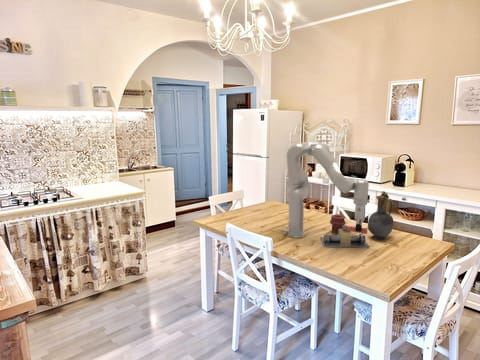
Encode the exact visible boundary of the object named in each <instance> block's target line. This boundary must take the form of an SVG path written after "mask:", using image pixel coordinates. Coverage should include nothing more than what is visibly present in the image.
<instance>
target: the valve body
mask: <svg viewBox="0 0 480 360" xmlns="http://www.w3.org/2000/svg"><path fill="white" fill-rule="evenodd" d="M320 240H321V242H322V245H323V247H324V248H334V249H335V248H340V249H342V248H343V249H345V248H347V249H349V248H350V249H370V247H371V246H370V245H369V244H368V243H367V242H366V240H367V239H366V235H364V234H362V233H359V234H358V235H354V234H353V235H352V232H351V231H343V230H342V229H339V231H338V234H330V233H329V232H326V233H325V234H323V236H320Z"/></svg>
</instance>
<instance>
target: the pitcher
mask: <svg viewBox="0 0 480 360" xmlns="http://www.w3.org/2000/svg"><path fill="white" fill-rule="evenodd" d="M375 198H376V200H377V205H376V206H377V211H374V212H373V213H372V214H371V215H370V216H369V218H368V220H367V231H368V232H370V233H371V234H372V235H373V236H372V237H373V239H375V240H378V241H384V240H386V238H387V237H388V236H389V235H390V234H391V233H392V231H393V228H394V218H393V216H392V215H391V213H392V210H393V208H394V207H393V205H394V202H393V200H392V198H390V196H389V195H388V193H387V192H386V191H385V190H384V191H381V193H380V195H376V196H375ZM388 202H390V207H389V212H387V207H388Z"/></svg>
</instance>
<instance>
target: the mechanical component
mask: <svg viewBox="0 0 480 360" xmlns="http://www.w3.org/2000/svg"><path fill="white" fill-rule="evenodd" d="M345 218H346V217H345V215H341V214H338V213H336V214H332V215H331V218H330V220H329V224H331V231H332V233H334V234H335V235H338V231H339V229H342V226H343V225H346V223H347V222H346V220H345Z"/></svg>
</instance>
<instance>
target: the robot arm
mask: <svg viewBox="0 0 480 360" xmlns="http://www.w3.org/2000/svg"><path fill="white" fill-rule="evenodd" d="M304 156H310V157H313V158H314V159H315V160H316V161H317V162H318V164H320V166H321V167H322V168H323V169H324V170H325V171H326V174H327V175H328V177H329V179H330V181H331V182H332V184H333V185H334V186H335V187H336V188H337V189H338V190H339V192H341V193H344V194H348V193H350V192H352V191H353V201H352V202H353V204H354V205H355V206H354V221H355V222H356V223H355V227H356V229H355V231H356V232H355V233H357V232H361V230H362V228H363V227H362V226H363V224H362V223H364V221H365V219H366V205H368V202H369V201H368V200H369V199H368V198H369V186H370V184H369V181H368V180H367V179H361V178H360V179H357V178H354V177H345V176H344V175H343V173H342V172H341V170H340V167H339V162H338V160H336V158H335V157H334V156H333V155H332V153H331V152H330V147H329V145H327V144H326V143H320V142H319V143H318V142H311V141H310V142H309V141H304V142H303V141H302V142H297V143H295V144H293V145H292V146H290V147H289V148H288V149H287V152H286V163H287V176H288V183H289V184H290V185H291V186H294V187H293V188H291V189H290V190H289V192H288V193H287V194H288V195H287V200H288V226H287V227H285V228H284V227H281V228H280V229H281V232H283V233H285V235H286V236H287V237H289V238H295V239H299V238H304V237H305V236H306V232H305V231H304V213H305V211H304V210H305V207H304V200H305V199H306V198H308V196H309V194H310V186H309V185H310V184H309V175H308V173H307V171H306V170H304V168H303V169H302V163H301V159H300V158H301V157H304Z"/></svg>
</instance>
